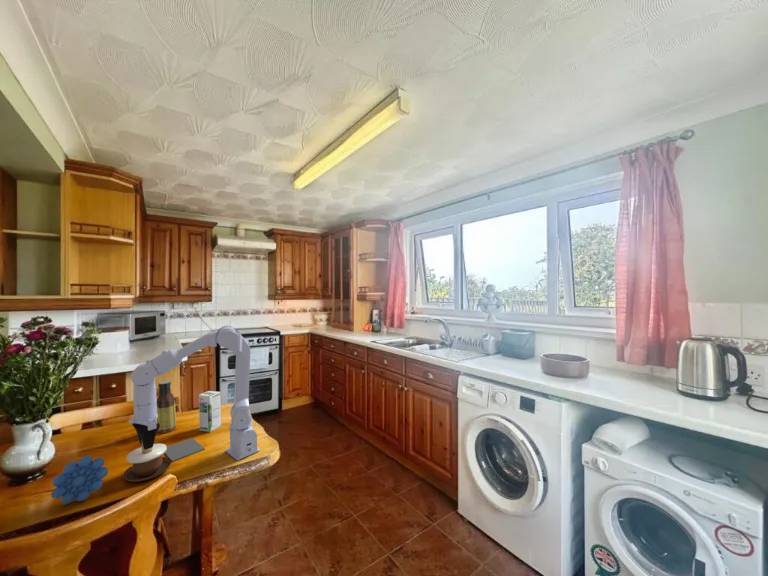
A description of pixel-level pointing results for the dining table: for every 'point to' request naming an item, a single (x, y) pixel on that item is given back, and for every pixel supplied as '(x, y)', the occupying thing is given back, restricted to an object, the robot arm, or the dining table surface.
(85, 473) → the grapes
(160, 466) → the cup and saucer
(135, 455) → the lid
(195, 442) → the plate
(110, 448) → the dining table surface
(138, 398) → the robot arm
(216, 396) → the syrup box
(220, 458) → the dining table surface
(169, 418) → the sauce bottle
